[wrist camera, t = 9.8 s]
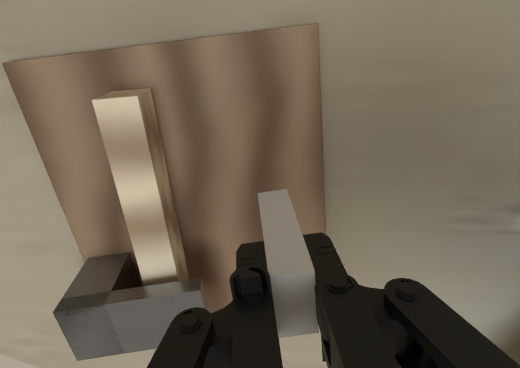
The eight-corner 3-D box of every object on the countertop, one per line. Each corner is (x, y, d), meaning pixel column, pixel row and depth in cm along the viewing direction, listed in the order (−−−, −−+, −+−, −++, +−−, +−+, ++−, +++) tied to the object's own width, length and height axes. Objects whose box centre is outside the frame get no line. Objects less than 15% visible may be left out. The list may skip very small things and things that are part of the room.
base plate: (315, 23, 26) (318, 23, 25) (326, 306, 38) (328, 312, 37) (10, 62, 25) (1, 62, 24) (121, 337, 38) (119, 344, 37)
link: (206, 318, 35) (204, 350, 32) (160, 324, 35) (152, 356, 32) (163, 86, 25) (152, 94, 22) (98, 92, 25) (76, 101, 22)
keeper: (205, 240, 32) (200, 290, 26) (215, 283, 34) (212, 339, 28) (88, 257, 32) (52, 312, 25) (105, 300, 34) (77, 360, 28)
